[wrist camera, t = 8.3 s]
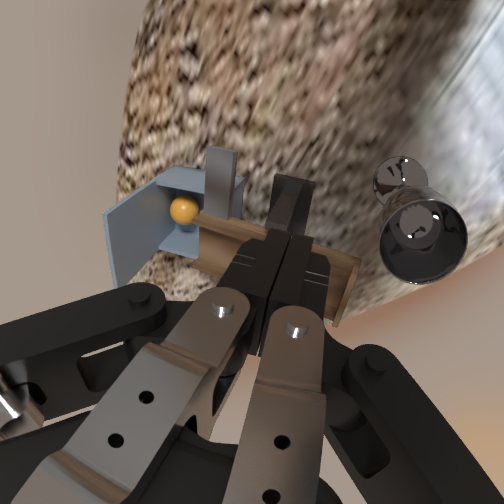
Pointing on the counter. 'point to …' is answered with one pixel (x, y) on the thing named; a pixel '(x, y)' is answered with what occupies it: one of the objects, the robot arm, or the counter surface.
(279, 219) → the lever stand
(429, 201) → the wine glass
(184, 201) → the ball
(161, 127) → the counter surface
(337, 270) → the lever
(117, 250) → the grey-blue open bin
